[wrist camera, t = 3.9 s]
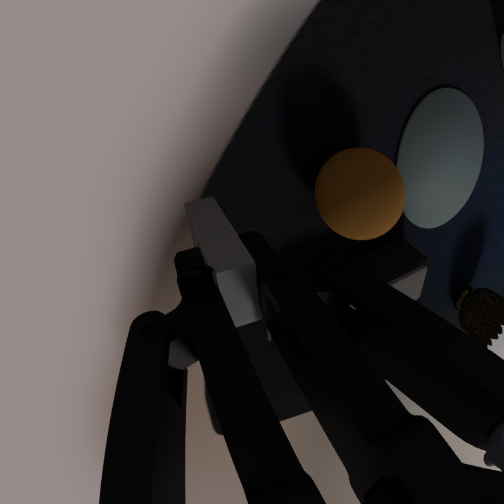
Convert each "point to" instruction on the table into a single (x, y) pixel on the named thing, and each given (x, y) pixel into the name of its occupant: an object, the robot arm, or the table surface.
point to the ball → (360, 193)
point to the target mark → (440, 157)
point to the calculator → (397, 266)
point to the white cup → (502, 49)
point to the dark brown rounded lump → (480, 313)
